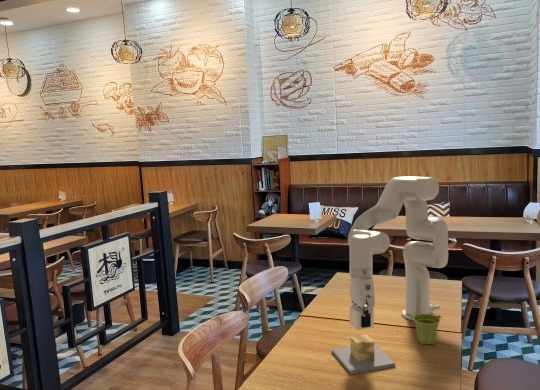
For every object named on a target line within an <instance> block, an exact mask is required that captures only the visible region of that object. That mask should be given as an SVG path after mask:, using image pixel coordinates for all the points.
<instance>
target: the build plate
mask: <svg viewBox="0 0 540 390" xmlns="http://www.w3.org/2000/svg"><path fill="white" fill-rule="evenodd" d="M331 353H332V355H334V357H335V358H336V359H337V361H339V362H340V364H341V365H342V366H343V368H344V369H345V370H346V371H347V372H348V373H349V375H354V374H359V373H360V374H361V373H367V372H373V371H378V370H382V369H389V368H395V367H396V362H395V361H394V360H393V359H391V358H390V356H388V355H387V354H386V353H385V352H384V351H383V350H382V349H381V348H380V347H379V346H378V345H376V344H375V343H374V359H368V360H362V361H357V359H356V358H355V357H354V356H353V355H352V354H351V347H350V345H349V346H343V347H336V348H332V349H331Z"/></svg>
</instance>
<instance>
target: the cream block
mask: <svg viewBox="0 0 540 390" xmlns="http://www.w3.org/2000/svg"><path fill="white" fill-rule="evenodd" d="M365 306H367V304H366V305H364V307H365ZM366 310H367V308H364V311H366ZM348 312H349V324H350V325H351V326H353V328H354V329H355V330H357V331H358V330H359V331H360V330H367V329H372V328H374V325H375V324H374V323H375V322H374V321H375V319H374V316H375V315H374V314H375V312H374V309H373V311H372V313H371V326H370V327H365V328H362V327H361V316H362V310H361V307H360V306H358V305H355V306H352V305H349V311H348Z"/></svg>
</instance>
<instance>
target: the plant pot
mask: <svg viewBox="0 0 540 390" xmlns="http://www.w3.org/2000/svg"><path fill="white" fill-rule="evenodd" d="M413 320H414V321H413ZM413 320H412V321H413V322H414V324H415V329H416V335H417V336H416V337H417V341H418V342H419V343H420V344H423V345H434V344H435V343H436V340H437V335H438V334H437V333H438V327H439V325H440V322H441V319H440V317H439V316H436V315H435V314H433V315H430V314H418V315H415V316H414V317H413Z"/></svg>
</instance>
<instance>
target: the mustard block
mask: <svg viewBox="0 0 540 390" xmlns="http://www.w3.org/2000/svg"><path fill="white" fill-rule="evenodd" d="M349 340H350V341H349V342H350V345H349V346H350V347H351V354H352V355H353V356H354V357H355V358H356V359H357V361H362V360H368V359H374V344H375V341H374V339H372V338H371V337H370V336H368V335H367V334H360V335H353V336H350V339H349Z"/></svg>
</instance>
